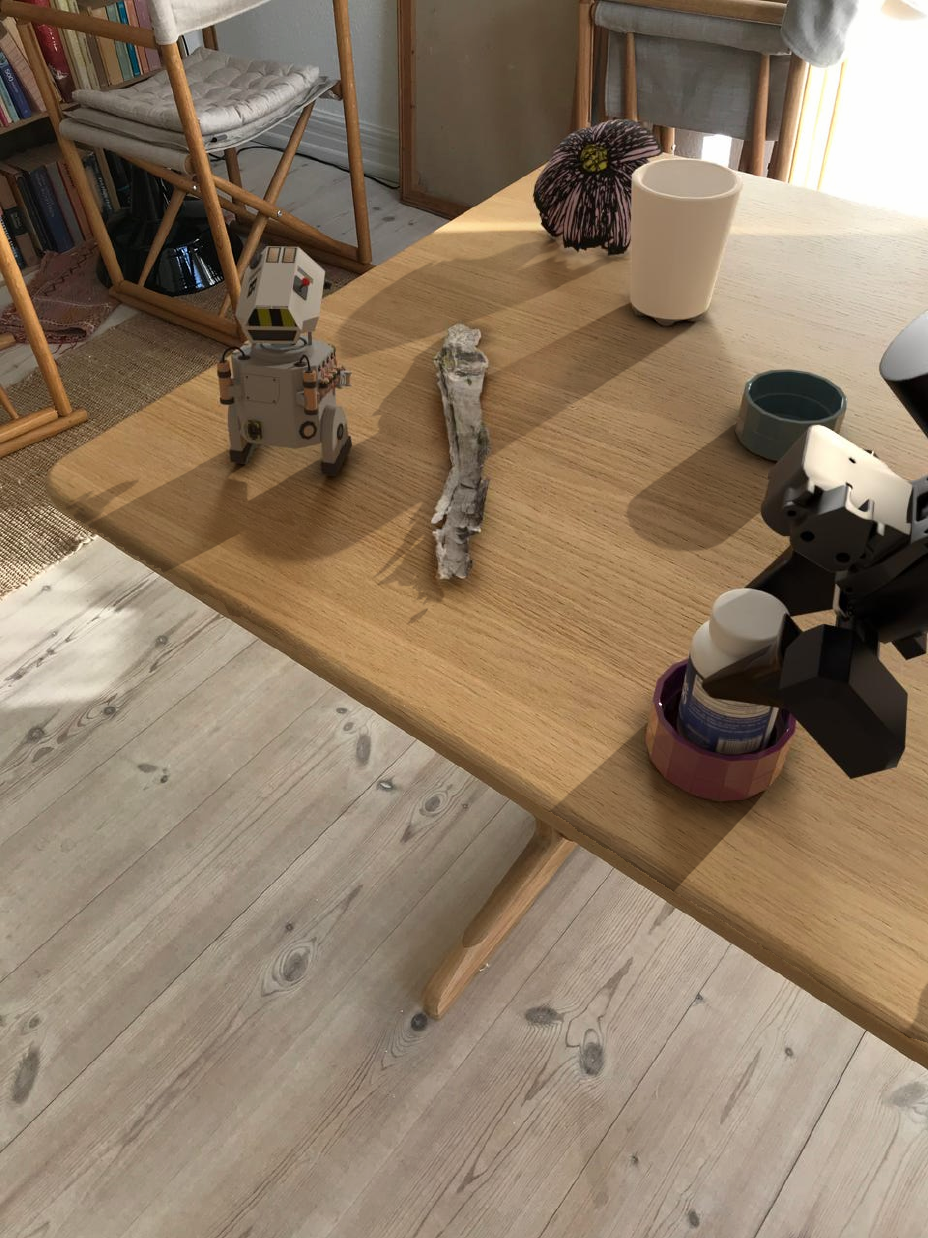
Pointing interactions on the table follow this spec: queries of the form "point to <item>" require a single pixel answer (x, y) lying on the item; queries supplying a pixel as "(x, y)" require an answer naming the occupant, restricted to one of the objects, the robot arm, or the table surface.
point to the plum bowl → (706, 768)
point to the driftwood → (461, 449)
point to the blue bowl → (786, 410)
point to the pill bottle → (719, 642)
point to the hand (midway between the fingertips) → (715, 652)
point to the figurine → (283, 363)
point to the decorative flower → (594, 184)
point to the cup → (679, 235)
